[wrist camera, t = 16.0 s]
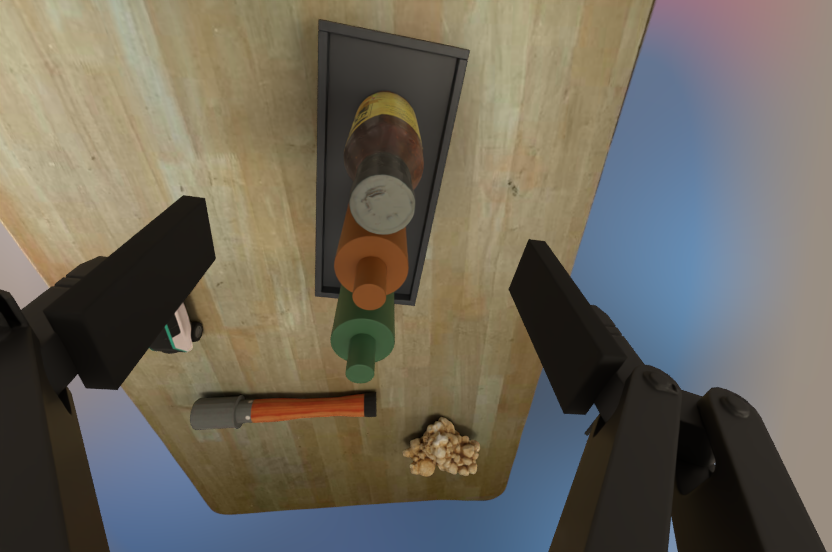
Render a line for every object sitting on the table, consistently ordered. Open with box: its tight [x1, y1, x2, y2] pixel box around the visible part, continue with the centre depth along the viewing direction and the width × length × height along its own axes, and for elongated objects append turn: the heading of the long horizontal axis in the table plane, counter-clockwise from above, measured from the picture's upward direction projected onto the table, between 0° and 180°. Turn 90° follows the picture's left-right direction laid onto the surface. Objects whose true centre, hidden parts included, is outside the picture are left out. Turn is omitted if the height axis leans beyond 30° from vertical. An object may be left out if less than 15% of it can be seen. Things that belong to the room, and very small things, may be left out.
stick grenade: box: [190, 392, 376, 430], centre depth 61 cm, size 5×5×30 cm
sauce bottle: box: [344, 91, 424, 235], centre depth 29 cm, size 6×6×20 cm
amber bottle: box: [334, 204, 409, 310], centre depth 35 cm, size 6×6×18 cm
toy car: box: [149, 302, 203, 354], centre depth 47 cm, size 6×12×5 cm, turn 173°
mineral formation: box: [403, 417, 480, 476], centre depth 70 cm, size 8×13×15 cm
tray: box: [315, 19, 470, 306], centre depth 41 cm, size 31×14×2 cm, turn 170°
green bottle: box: [331, 284, 395, 383], centre depth 40 cm, size 6×6×18 cm
